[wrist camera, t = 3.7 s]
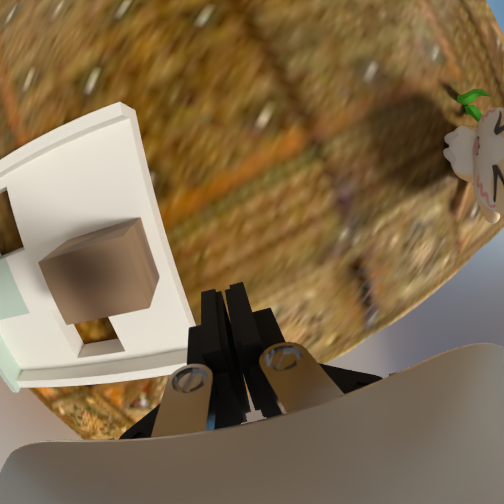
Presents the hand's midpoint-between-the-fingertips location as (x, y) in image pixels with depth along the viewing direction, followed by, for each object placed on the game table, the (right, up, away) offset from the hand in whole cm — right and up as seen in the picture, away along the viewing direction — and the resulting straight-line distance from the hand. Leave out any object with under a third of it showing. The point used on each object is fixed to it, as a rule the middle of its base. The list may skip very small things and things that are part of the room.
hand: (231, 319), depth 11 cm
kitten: (+25, +15, +14) cm, 32 cm away
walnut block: (-10, +2, +10) cm, 15 cm away
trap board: (-18, +1, +12) cm, 22 cm away
